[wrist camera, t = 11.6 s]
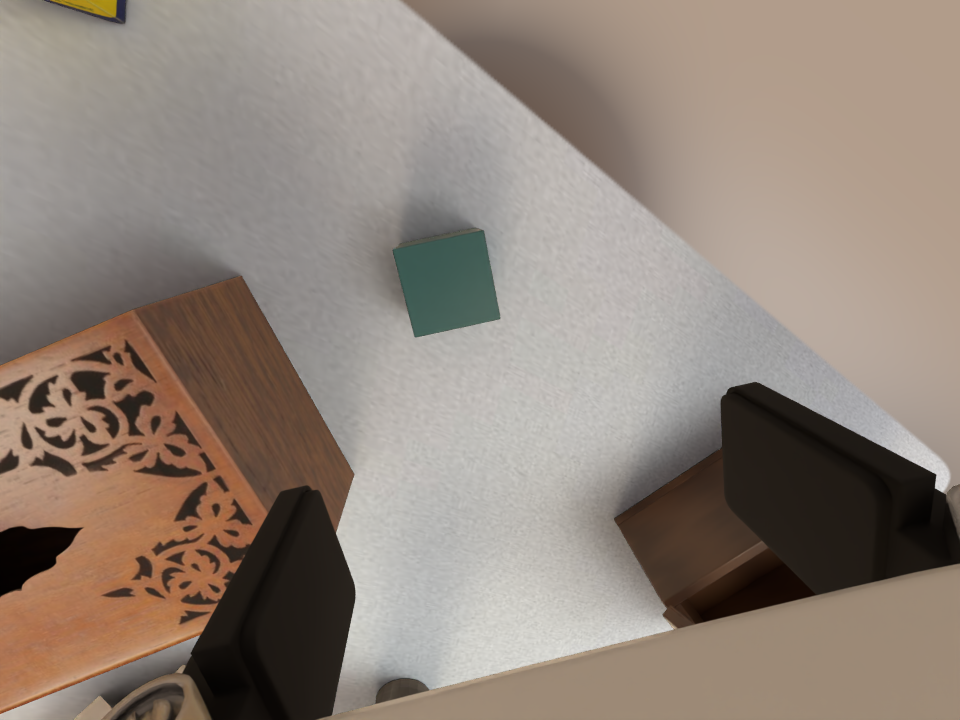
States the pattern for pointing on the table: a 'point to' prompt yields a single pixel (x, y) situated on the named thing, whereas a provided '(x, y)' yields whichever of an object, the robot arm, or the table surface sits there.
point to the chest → (705, 549)
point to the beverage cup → (399, 689)
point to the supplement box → (97, 8)
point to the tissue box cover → (143, 481)
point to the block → (447, 281)
